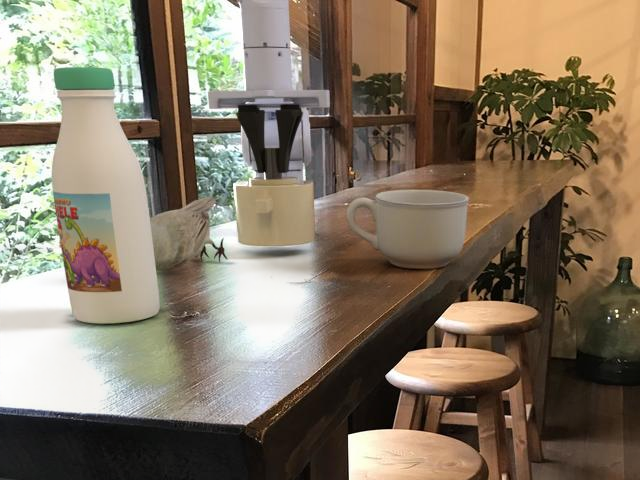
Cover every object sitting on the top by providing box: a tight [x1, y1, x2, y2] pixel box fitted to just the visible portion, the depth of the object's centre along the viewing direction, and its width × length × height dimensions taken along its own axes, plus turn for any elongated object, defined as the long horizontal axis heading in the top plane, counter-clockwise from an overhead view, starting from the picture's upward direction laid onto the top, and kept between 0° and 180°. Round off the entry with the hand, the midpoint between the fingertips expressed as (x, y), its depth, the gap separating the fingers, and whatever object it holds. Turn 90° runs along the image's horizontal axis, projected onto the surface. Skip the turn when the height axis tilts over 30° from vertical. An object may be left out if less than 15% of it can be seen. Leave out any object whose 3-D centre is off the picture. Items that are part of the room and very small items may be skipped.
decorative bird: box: [150, 196, 228, 272], centre depth 91 cm, size 5×16×8 cm, turn 152°
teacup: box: [346, 189, 470, 270], centre depth 94 cm, size 14×11×8 cm
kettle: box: [233, 147, 316, 247], centre depth 102 cm, size 16×10×11 cm, turn 175°
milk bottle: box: [51, 66, 161, 324], centre depth 69 cm, size 8×8×20 cm
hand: (273, 172), depth 101 cm, fingers closed on kettle, 2 cm apart
